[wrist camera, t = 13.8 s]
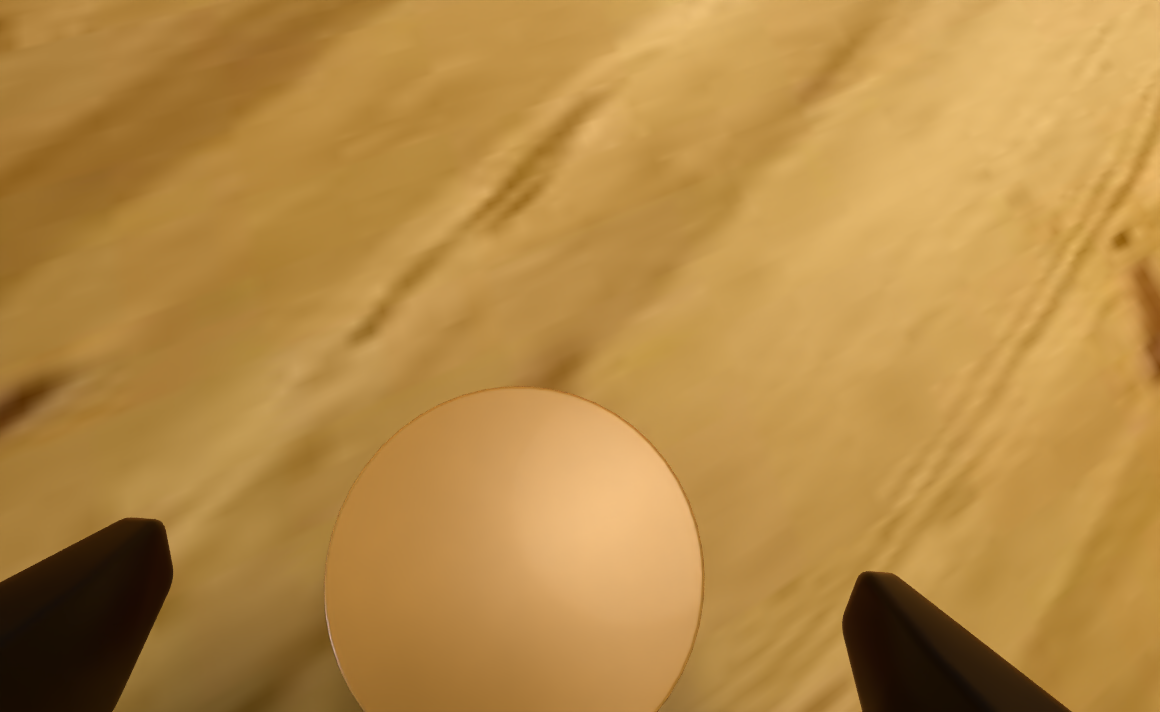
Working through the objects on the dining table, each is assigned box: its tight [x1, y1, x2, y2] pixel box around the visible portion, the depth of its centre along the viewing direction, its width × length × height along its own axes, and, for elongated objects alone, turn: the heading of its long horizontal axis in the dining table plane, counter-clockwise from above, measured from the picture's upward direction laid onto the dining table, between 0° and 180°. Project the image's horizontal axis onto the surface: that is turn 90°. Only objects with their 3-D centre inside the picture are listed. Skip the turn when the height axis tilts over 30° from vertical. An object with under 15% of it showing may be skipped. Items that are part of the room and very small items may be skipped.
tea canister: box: [324, 386, 704, 712], centre depth 14 cm, size 6×6×9 cm
